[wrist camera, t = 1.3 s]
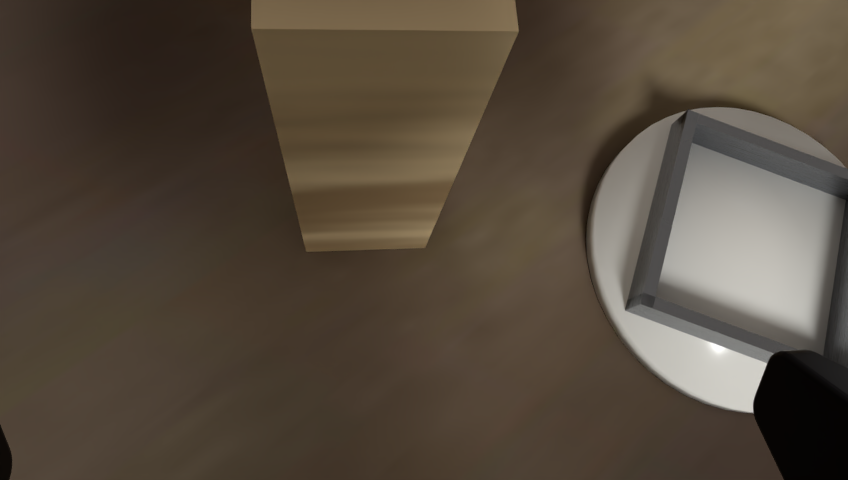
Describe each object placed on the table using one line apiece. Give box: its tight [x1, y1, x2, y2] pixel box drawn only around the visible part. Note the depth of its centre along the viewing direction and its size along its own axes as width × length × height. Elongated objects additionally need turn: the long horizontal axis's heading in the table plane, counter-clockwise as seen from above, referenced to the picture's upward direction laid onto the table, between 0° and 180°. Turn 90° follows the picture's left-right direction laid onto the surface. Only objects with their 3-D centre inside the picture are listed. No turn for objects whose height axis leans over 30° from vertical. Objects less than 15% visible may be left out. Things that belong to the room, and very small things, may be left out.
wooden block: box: [251, 0, 519, 252], centre depth 16 cm, size 4×4×12 cm
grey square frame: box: [625, 109, 848, 367], centre depth 22 cm, size 7×7×1 cm
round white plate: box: [586, 107, 846, 413], centre depth 22 cm, size 11×11×1 cm
